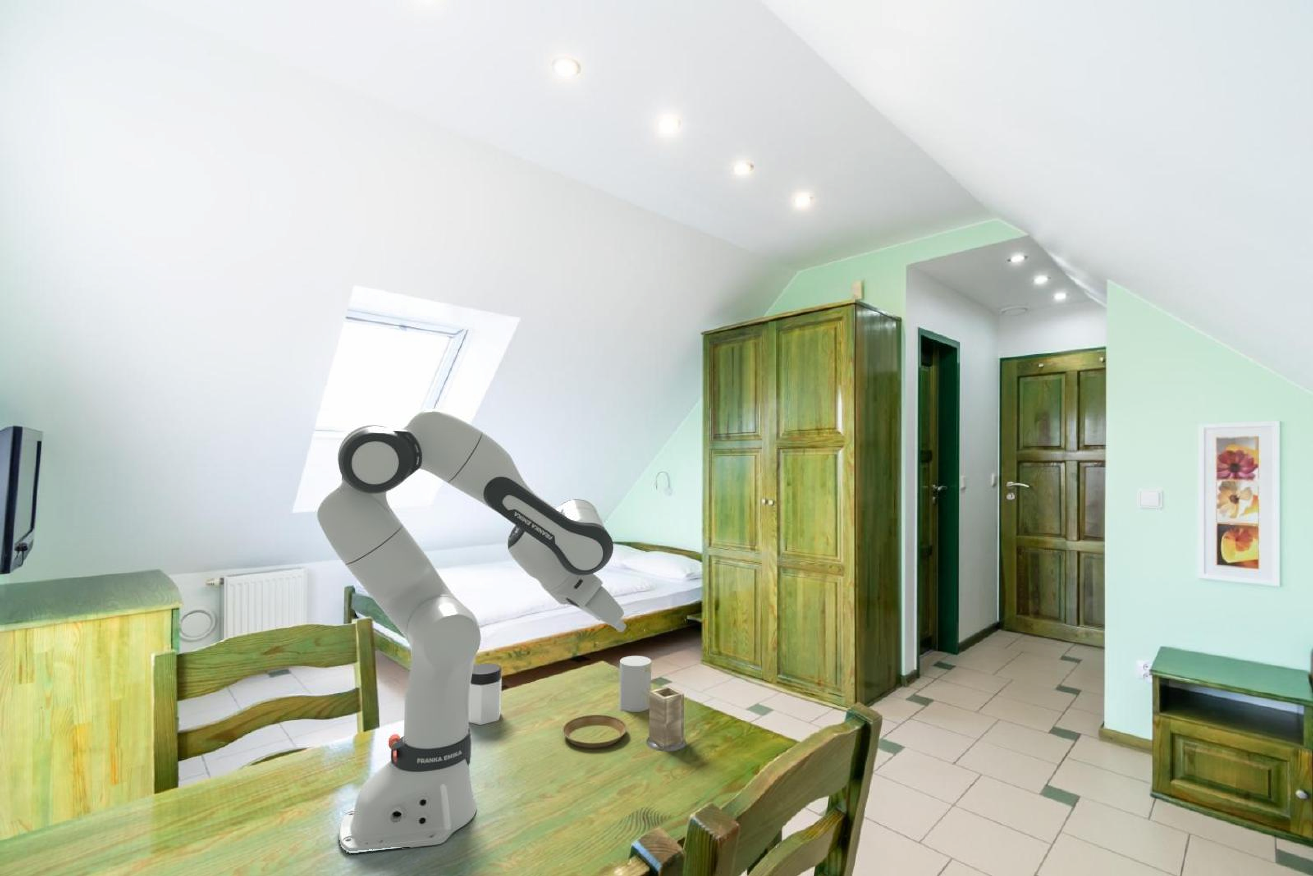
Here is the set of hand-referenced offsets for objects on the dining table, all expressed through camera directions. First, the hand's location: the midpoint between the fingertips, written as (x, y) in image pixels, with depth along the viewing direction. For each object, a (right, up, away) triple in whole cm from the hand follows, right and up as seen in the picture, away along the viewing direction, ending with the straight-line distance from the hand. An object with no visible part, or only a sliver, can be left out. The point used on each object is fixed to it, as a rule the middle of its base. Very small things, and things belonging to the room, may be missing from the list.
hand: (611, 622), depth 132 cm
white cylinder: (+4, -31, +30) cm, 43 cm away
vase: (+12, -30, +9) cm, 33 cm away
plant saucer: (-5, -31, +12) cm, 33 cm away
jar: (-33, -30, +23) cm, 50 cm away
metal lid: (+12, -30, +9) cm, 34 cm away
